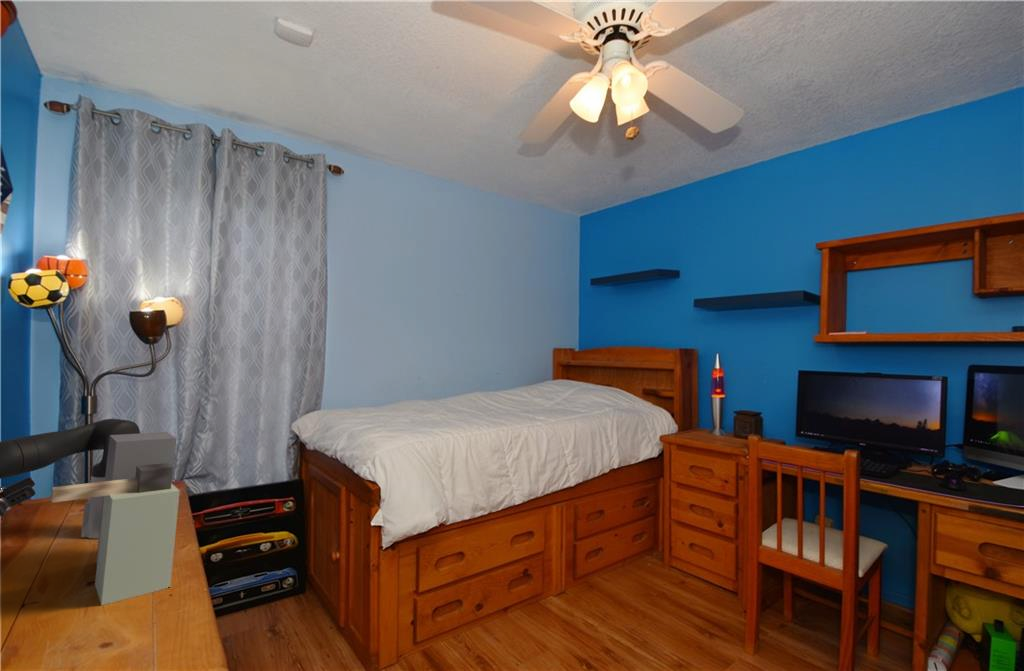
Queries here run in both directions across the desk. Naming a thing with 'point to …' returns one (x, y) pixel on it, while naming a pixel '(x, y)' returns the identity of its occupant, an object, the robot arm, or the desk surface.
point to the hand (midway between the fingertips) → (32, 484)
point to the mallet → (119, 484)
